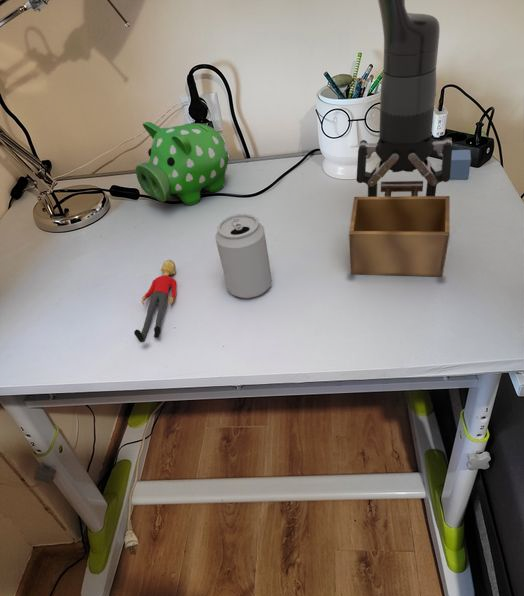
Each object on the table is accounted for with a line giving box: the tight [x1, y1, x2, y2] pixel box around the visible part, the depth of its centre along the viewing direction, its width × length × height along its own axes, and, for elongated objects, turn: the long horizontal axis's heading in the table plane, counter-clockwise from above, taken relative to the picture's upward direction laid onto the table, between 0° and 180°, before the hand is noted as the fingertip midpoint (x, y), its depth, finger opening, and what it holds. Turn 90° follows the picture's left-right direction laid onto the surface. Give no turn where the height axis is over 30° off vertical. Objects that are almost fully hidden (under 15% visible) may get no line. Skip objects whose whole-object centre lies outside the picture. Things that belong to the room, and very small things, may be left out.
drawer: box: [348, 180, 451, 278], centre depth 80 cm, size 14×9×13 cm
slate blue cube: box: [450, 149, 472, 180], centre depth 97 cm, size 4×4×4 cm
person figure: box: [133, 259, 178, 343], centre depth 82 cm, size 5×4×18 cm
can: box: [214, 213, 273, 299], centre depth 79 cm, size 8×8×12 cm
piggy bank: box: [135, 121, 229, 206], centre depth 103 cm, size 14×18×15 cm
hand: (400, 203), depth 84 cm, fingers open, 8 cm apart
